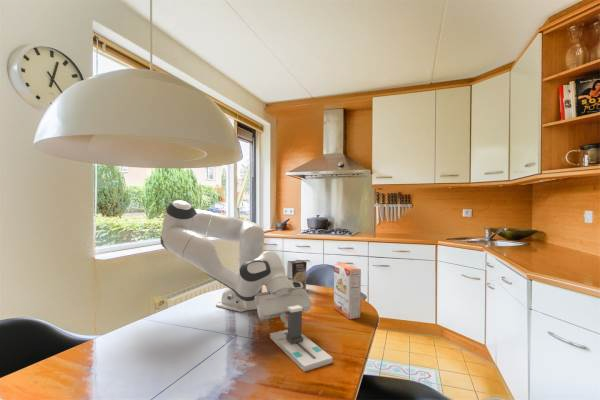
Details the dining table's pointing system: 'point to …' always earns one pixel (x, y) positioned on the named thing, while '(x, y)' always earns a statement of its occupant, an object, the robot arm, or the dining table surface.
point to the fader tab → (294, 324)
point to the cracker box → (347, 290)
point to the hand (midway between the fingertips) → (291, 326)
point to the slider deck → (302, 351)
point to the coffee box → (297, 271)
